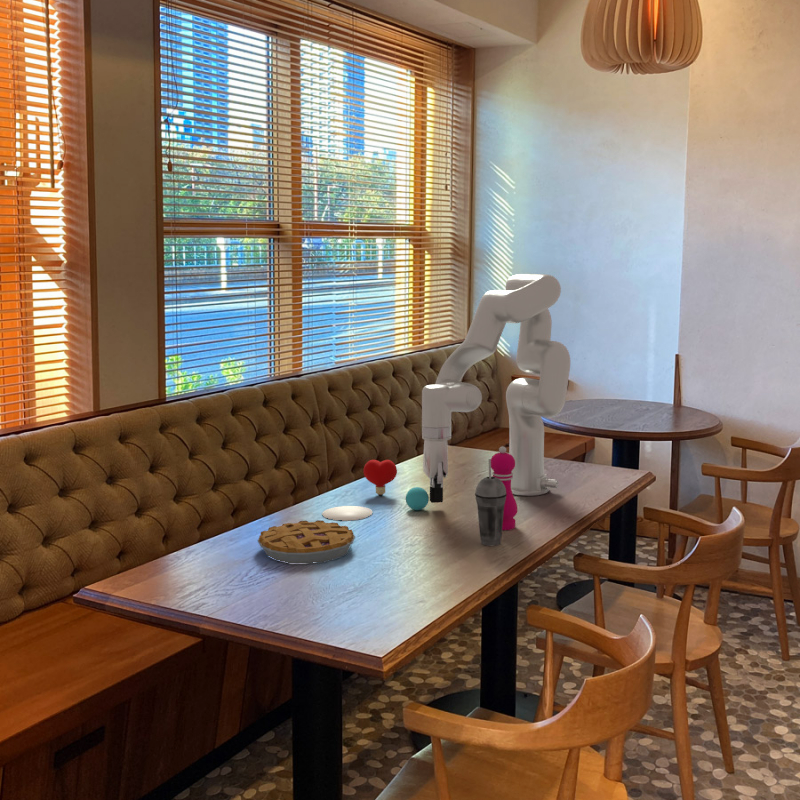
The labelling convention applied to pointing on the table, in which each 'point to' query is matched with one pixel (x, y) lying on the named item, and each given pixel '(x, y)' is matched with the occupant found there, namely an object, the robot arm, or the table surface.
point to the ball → (417, 498)
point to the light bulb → (380, 474)
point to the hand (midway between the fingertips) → (436, 501)
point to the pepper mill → (505, 484)
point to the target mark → (347, 513)
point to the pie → (306, 541)
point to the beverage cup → (490, 508)
